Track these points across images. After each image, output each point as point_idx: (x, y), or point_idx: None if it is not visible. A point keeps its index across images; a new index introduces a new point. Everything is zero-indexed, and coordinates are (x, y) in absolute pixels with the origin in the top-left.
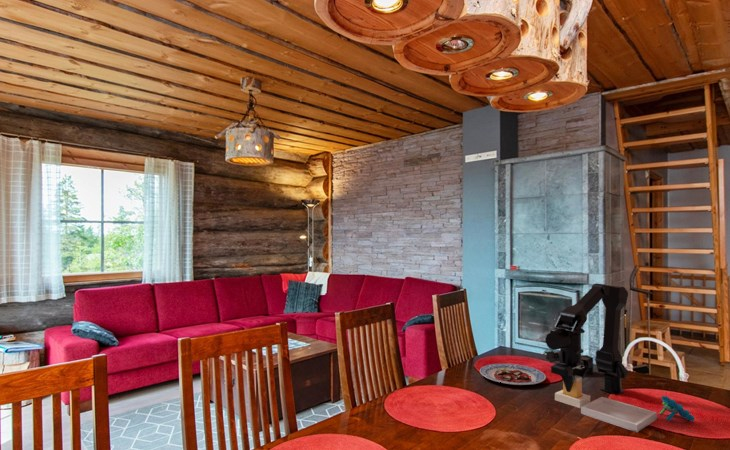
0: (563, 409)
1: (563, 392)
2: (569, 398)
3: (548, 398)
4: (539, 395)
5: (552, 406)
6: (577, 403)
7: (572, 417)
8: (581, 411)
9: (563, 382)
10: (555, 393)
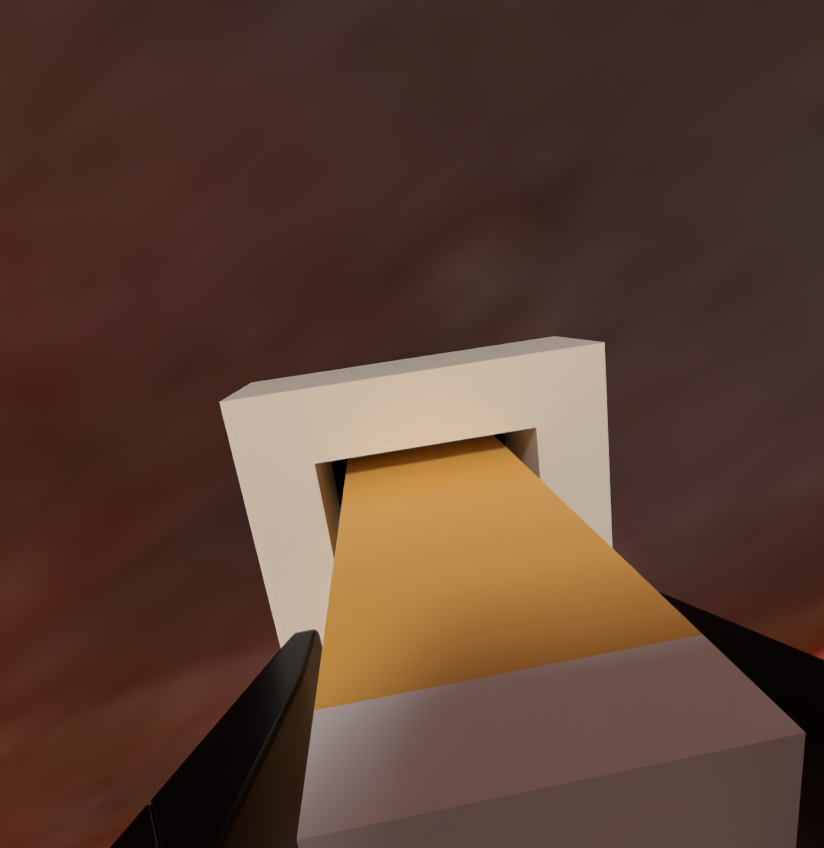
0: (102, 637)
1: (345, 496)
2: (283, 634)
3: (218, 286)
4: (180, 109)
5: (34, 517)
6: None
7: (20, 811)
8: None
9: (331, 616)
10: (225, 413)
